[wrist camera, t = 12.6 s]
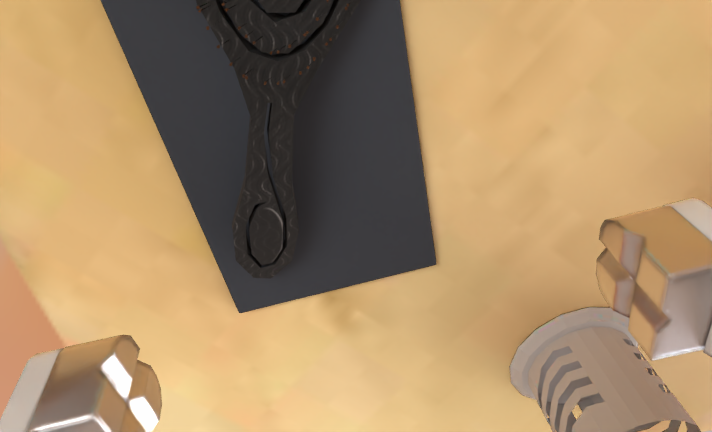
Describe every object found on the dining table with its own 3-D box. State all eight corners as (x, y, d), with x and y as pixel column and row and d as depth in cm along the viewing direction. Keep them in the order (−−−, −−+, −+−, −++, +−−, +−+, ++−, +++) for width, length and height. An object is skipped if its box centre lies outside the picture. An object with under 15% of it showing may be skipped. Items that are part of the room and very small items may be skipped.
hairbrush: (179, 305, 27) (126, -458, 13) (187, 257, 30) (151, -403, 15) (342, 304, 28) (457, -371, 14) (334, 259, 31) (423, -337, 17)
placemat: (-52, -351, 16) (-58, -356, 16) (336, -439, 16) (337, -445, 16) (239, 309, 32) (239, 313, 31) (434, 260, 32) (436, 264, 32)
